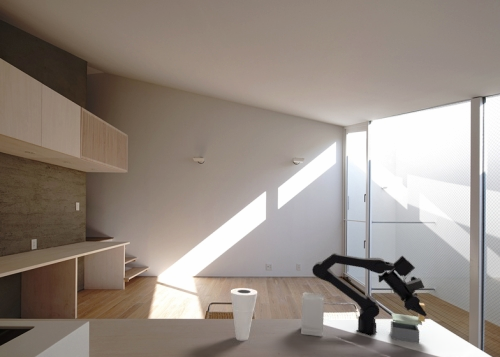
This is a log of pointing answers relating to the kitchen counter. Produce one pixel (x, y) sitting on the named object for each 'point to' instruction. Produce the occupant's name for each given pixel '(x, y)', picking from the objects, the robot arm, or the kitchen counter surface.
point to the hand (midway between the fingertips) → (425, 314)
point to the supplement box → (312, 314)
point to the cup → (243, 310)
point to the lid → (409, 318)
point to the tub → (404, 332)
